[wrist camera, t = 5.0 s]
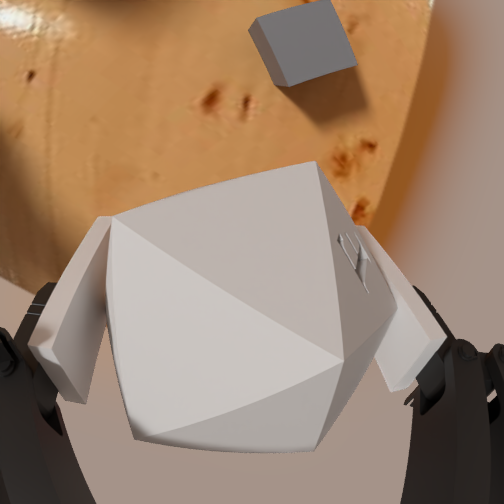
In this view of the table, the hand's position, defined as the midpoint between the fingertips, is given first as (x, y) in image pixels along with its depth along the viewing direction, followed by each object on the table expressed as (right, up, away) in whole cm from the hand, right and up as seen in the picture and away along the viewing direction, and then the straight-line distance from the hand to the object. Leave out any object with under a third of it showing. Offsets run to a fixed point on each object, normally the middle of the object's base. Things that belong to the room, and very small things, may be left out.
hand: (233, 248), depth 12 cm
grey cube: (+4, +15, +6) cm, 17 cm away
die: (0, 0, 0) cm, 0 cm away
